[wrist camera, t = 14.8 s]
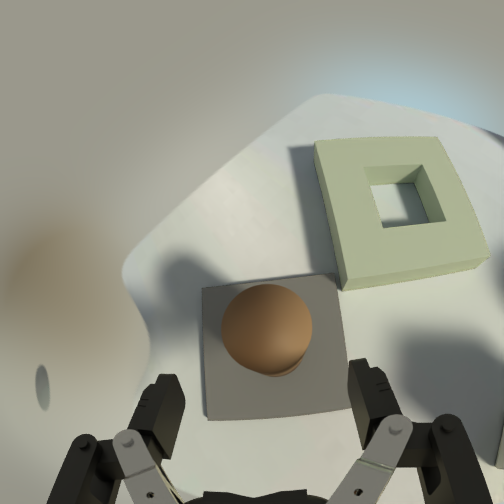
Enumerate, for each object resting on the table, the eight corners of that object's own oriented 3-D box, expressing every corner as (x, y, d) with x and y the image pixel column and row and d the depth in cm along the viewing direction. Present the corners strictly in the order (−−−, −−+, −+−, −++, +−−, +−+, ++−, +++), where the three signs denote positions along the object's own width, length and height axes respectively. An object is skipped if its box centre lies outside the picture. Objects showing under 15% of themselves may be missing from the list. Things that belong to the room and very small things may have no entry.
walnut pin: (301, 318, 23) (306, 278, 15) (307, 373, 21) (317, 366, 13) (245, 324, 24) (219, 288, 15) (248, 379, 22) (223, 375, 14)
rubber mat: (333, 275, 25) (334, 272, 24) (350, 407, 20) (352, 407, 20) (203, 290, 26) (201, 287, 25) (209, 419, 21) (207, 420, 21)
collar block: (429, 154, 29) (437, 137, 26) (475, 268, 23) (490, 255, 20) (313, 161, 30) (314, 140, 27) (342, 291, 24) (347, 279, 21)
